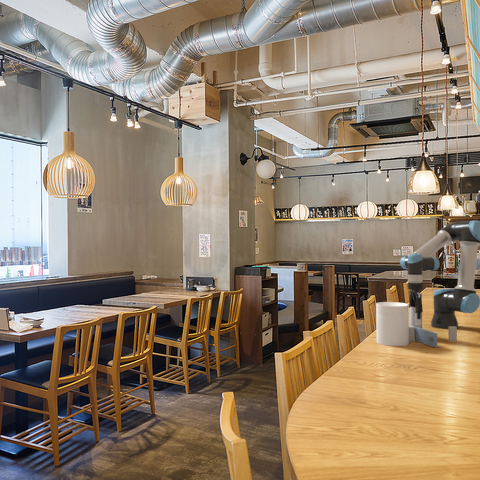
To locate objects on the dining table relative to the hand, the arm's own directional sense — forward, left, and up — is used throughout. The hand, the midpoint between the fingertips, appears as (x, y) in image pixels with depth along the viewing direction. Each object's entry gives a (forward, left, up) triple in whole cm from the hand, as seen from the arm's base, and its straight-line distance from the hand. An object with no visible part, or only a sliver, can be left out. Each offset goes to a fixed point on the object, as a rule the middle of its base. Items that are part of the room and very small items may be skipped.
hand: (415, 323), depth 243 cm
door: (+1, +18, -7) cm, 19 cm away
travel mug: (0, 0, -8) cm, 8 cm away
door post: (+6, +10, -7) cm, 14 cm away
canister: (+16, +14, -8) cm, 23 cm away
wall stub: (-16, +10, -7) cm, 20 cm away
